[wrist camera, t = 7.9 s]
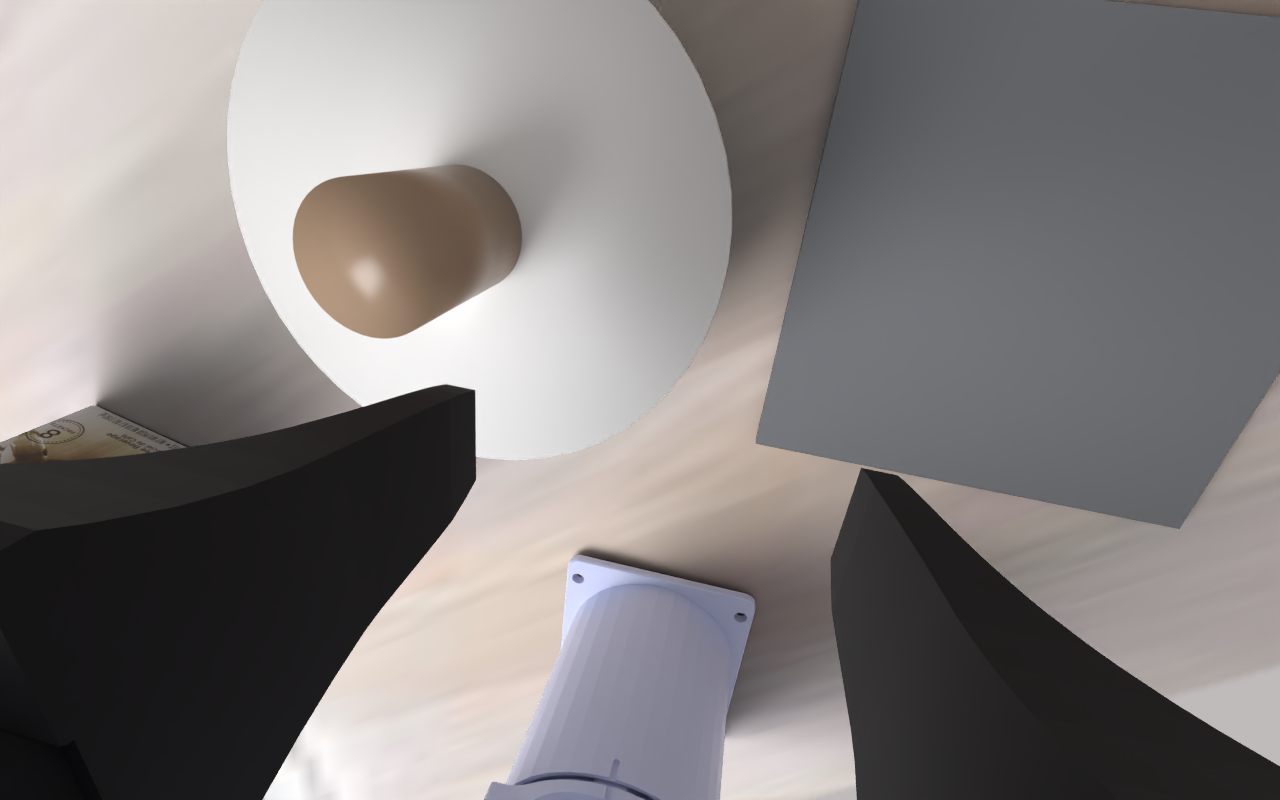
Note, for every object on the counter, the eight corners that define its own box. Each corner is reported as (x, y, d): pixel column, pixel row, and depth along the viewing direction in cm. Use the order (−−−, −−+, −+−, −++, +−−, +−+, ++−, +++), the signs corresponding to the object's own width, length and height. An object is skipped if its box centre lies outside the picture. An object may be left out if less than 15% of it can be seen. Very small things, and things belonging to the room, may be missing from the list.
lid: (688, 486, 17) (660, 603, 13) (287, 401, 19) (147, 480, 15) (788, -62, 12) (797, -171, 7) (208, -114, 13) (-56, -227, 9)
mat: (1172, 521, 20) (1179, 528, 20) (756, 438, 22) (755, 443, 21) (1473, 40, 14) (1491, 38, 14) (863, -20, 16) (865, -24, 15)
